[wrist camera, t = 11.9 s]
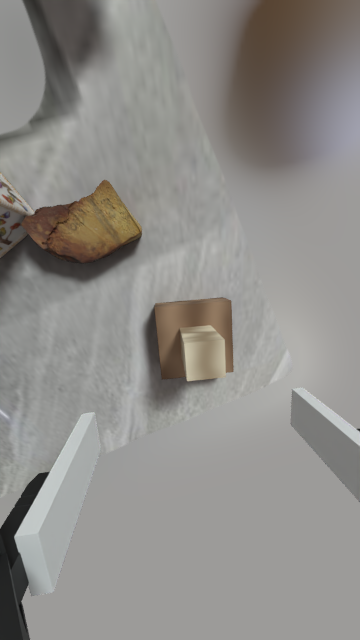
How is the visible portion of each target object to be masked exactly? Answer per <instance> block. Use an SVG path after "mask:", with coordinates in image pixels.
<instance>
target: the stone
mask: <svg viewBox="0 0 360 640" xmlns="http://www.w3.org/2000/svg"><path fill="white" fill-rule="evenodd" d="M21 225H22V227H23V228H24V229H25V230H26V232H27V233H28V234H29V235H30V236H31V237H32V239H33V240H34V241H35V242H36V243H37V244H38V245H39V246H40V247H41V248H42V249H44V250H45V251H47V252H49V253H50V254H52V255H54V256H55V257H57V258H59V259H61V260H66V261H68V262H74V263H91V262H94V261H95V260H97V259H100V258H104V257H106V256H108V255H110V254H111V253H113V252H114V251H116V250H117V249H119V248H120V247H121V246H123V245H126V244H128V243H130V242H131V241H134V240H136V239H138V238H139V237H141V236H142V228H141V226H140V225H139V223H138V222H137V221H136V219H135V218H134V217H133V216H132V214H131V213H130V212H129V210H128V209H127V207H126V206H125V205H124V203H123V202H122V201H121V199H120V198H119V196H118V195H117V193H116V191H115V190H114V188H113V187H112V185H111V184H110V182H108V181H106V180H104V181H102V182H101V183H100V185H99V186H98V187H97V188H96V190H95V192H94V193H92V194H91V195H89V196H87V197H84V198H82V199H80V200H79V202H77V201H75V202H73V203H71V204H66V205H57V206H53V207H43V208H40V209H37V210H36V211H35V212H34V214H33V215H30V216H26V217H25V218H24V220H23V221H22V224H21Z"/></svg>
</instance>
